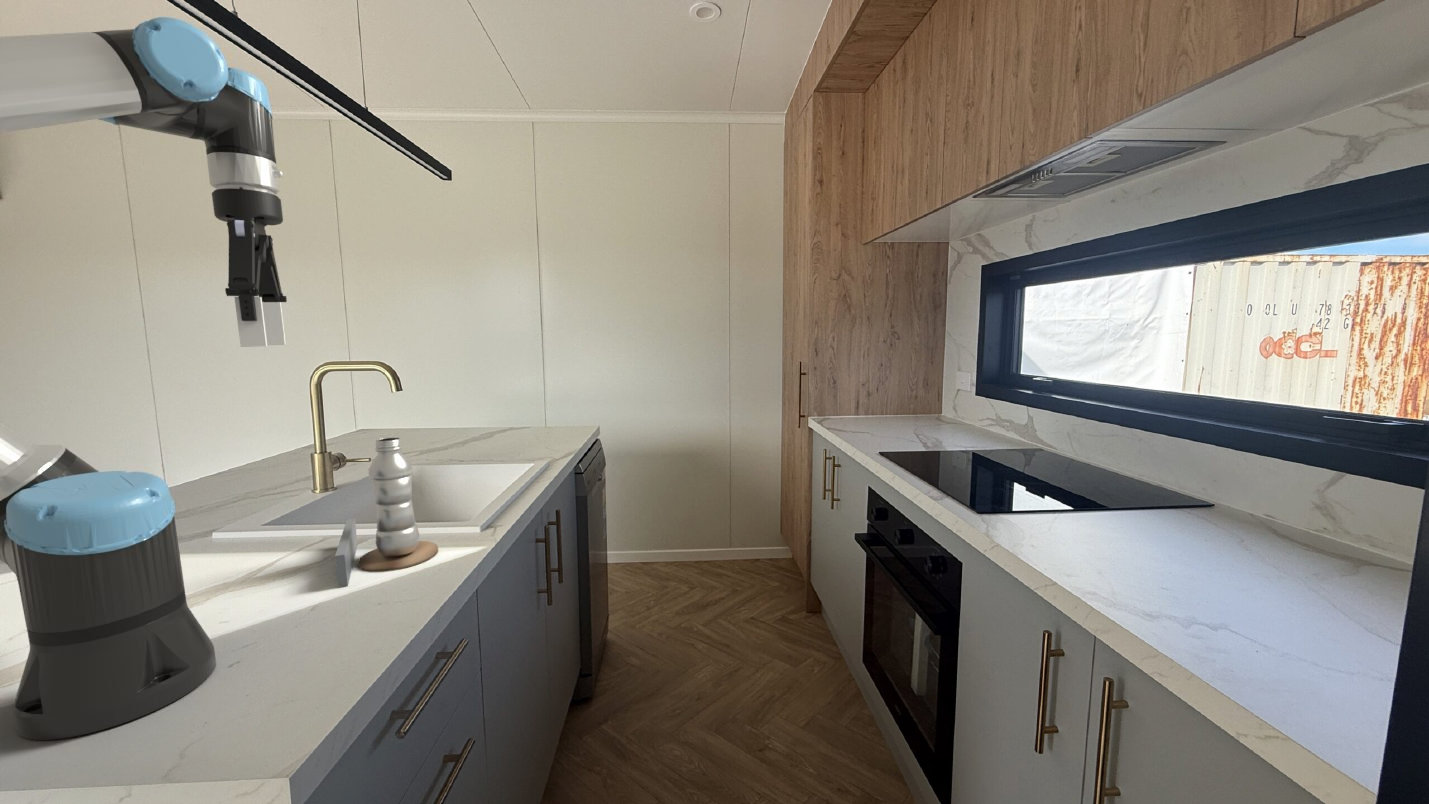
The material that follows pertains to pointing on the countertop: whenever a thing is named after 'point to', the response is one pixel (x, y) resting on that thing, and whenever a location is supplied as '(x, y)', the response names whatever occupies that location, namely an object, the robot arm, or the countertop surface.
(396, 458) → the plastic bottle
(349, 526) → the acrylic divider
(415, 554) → the walnut coaster
